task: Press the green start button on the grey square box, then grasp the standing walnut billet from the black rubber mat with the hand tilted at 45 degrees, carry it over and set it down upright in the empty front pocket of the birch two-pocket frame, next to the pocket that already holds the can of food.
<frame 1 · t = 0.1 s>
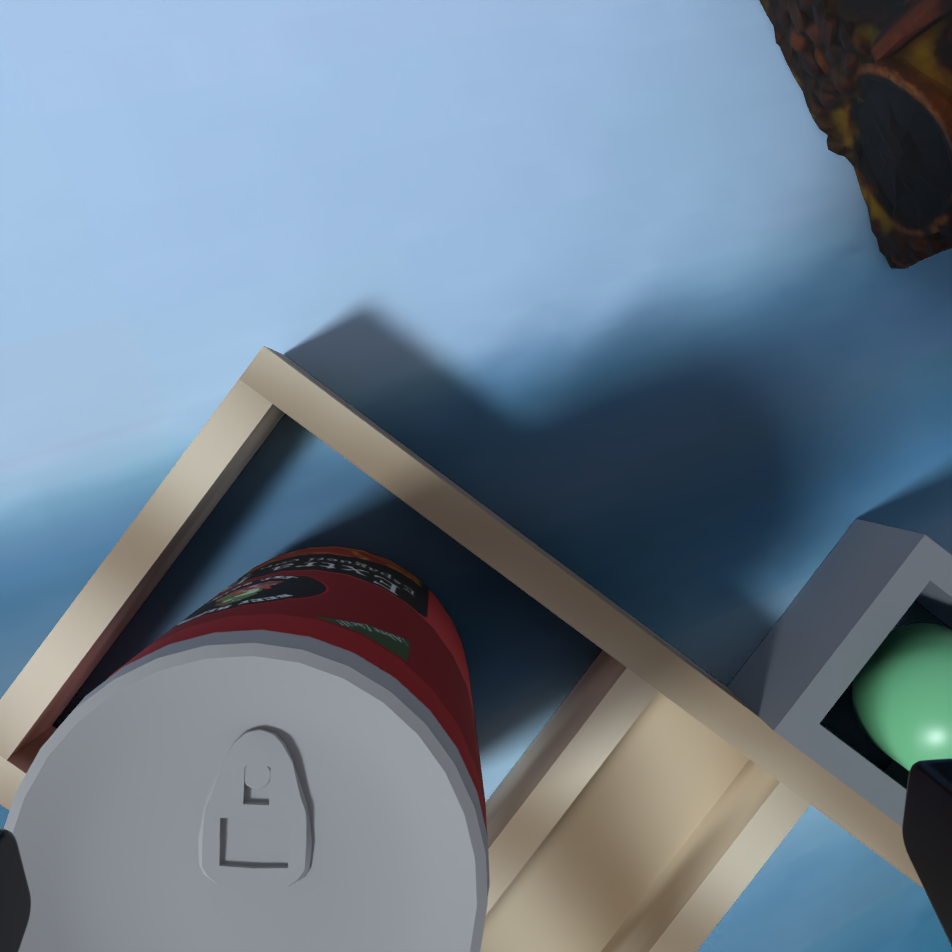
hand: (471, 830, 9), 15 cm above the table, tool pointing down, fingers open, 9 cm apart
birch frame: (573, 857, 25), on the table
canned food: (333, 681, 24), resting in birch frame
grey square box: (872, 665, 25), on the table
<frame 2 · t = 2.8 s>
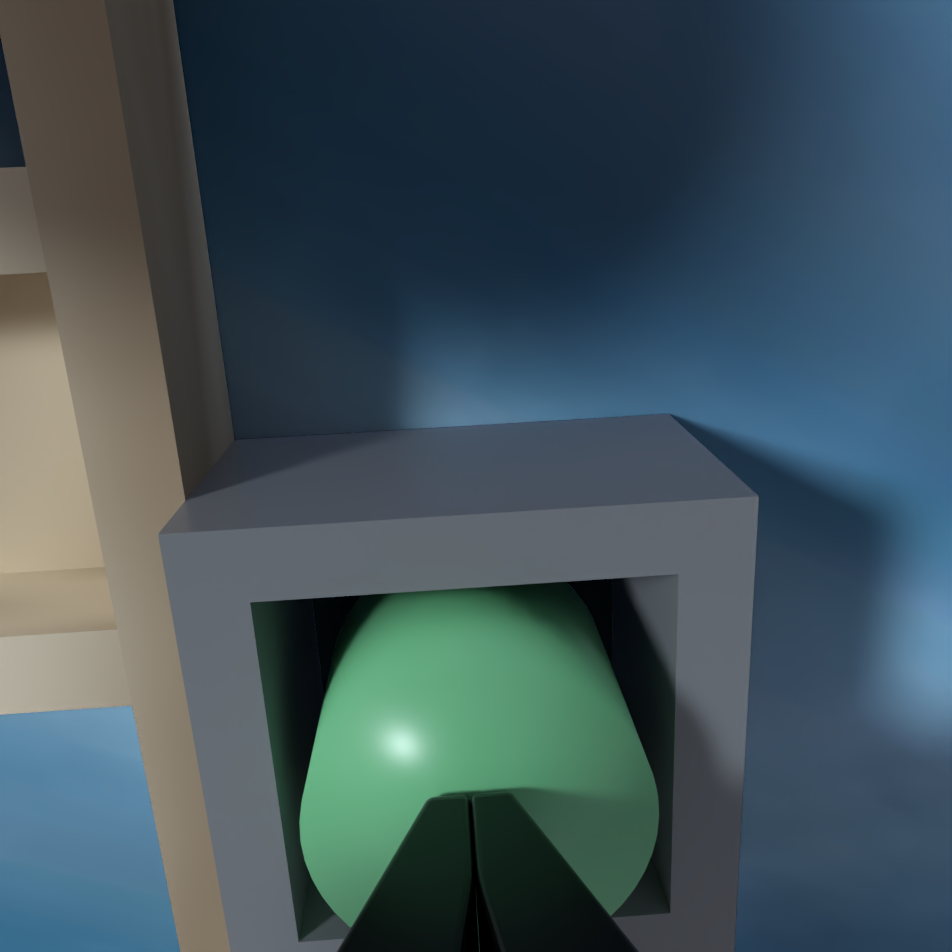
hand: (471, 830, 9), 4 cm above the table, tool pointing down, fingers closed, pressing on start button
start button: (474, 739, 10), point 3 cm above the table, slide at 1.1 cm, touching gripper
grey square box: (464, 622, 13), on the table
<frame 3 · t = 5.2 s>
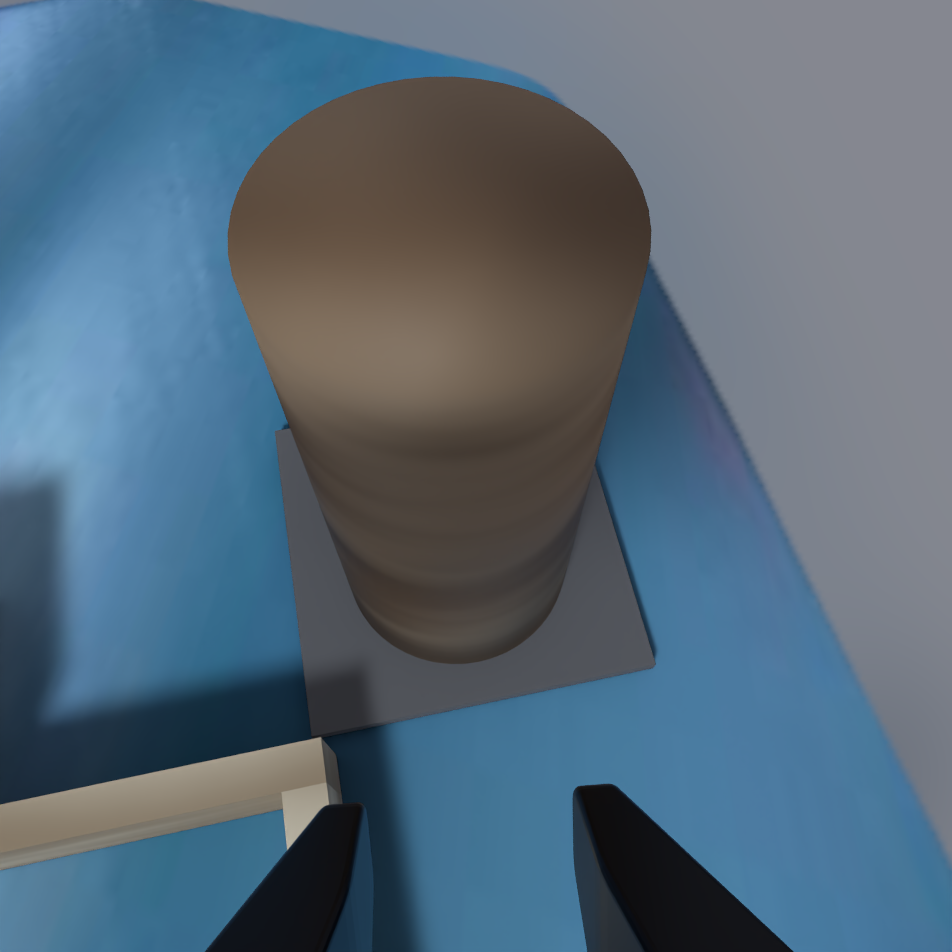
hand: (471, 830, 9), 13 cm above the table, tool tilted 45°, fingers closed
rubber mat: (453, 545, 25), on the table
walnut billet: (456, 556, 24), resting on rubber mat
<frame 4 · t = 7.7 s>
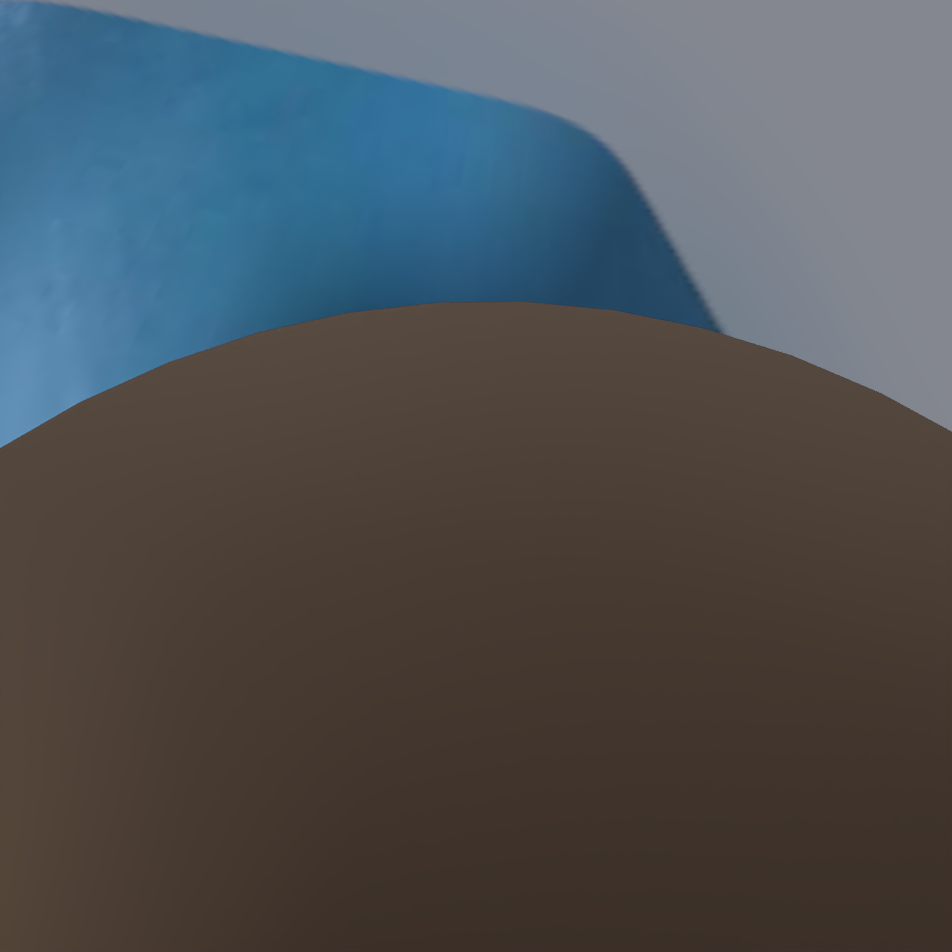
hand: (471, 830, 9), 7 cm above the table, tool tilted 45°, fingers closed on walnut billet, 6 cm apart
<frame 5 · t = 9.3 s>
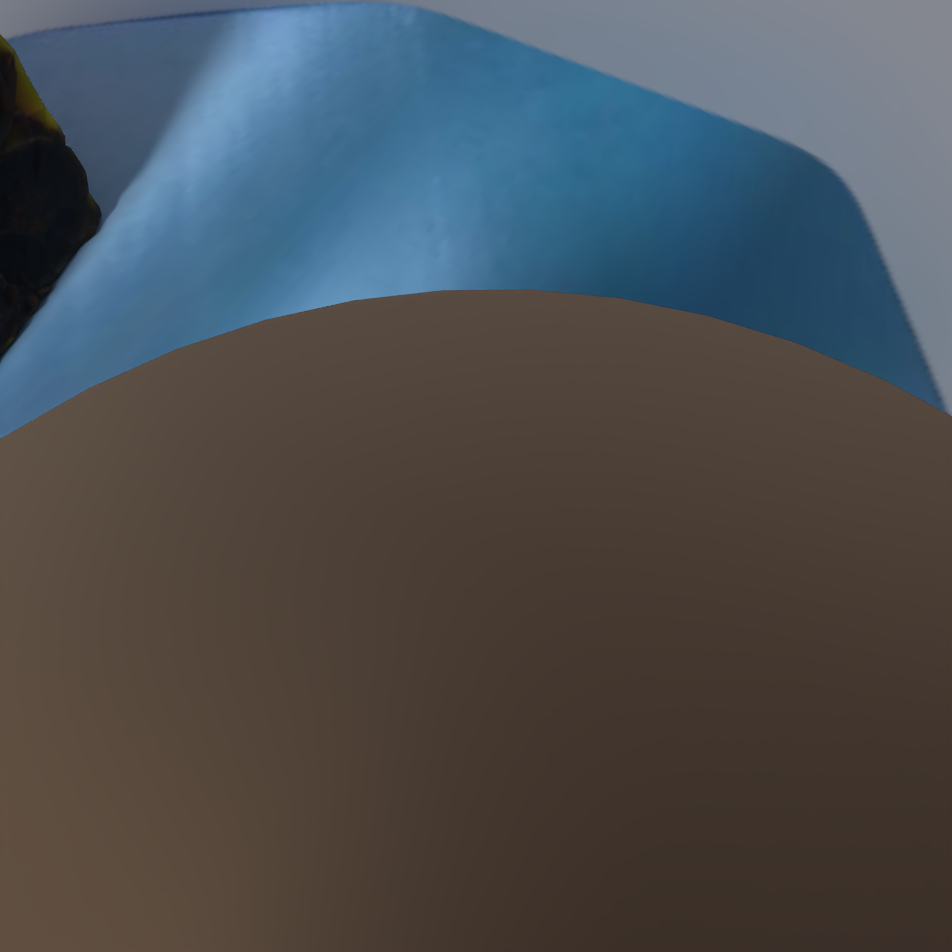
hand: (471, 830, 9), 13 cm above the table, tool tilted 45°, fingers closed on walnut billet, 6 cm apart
when the fingers open (8 cm above the table, at t = 11.2 s): walnut billet drops 2 cm, resting in birch frame.
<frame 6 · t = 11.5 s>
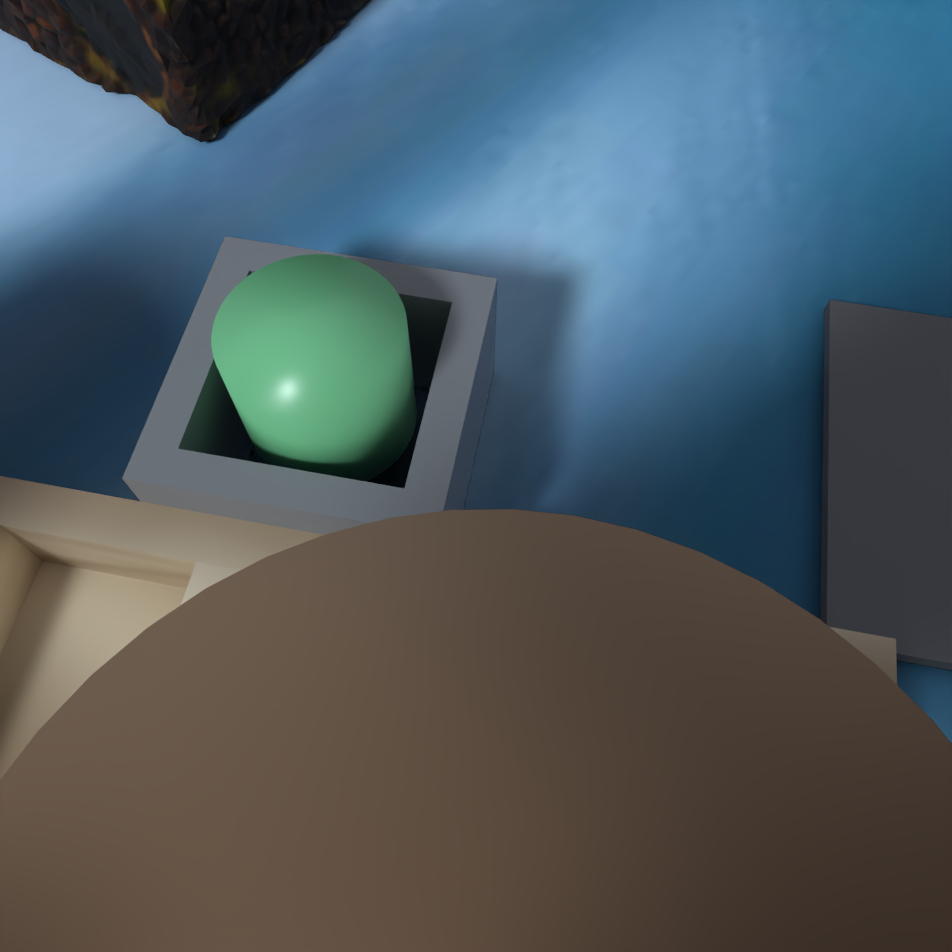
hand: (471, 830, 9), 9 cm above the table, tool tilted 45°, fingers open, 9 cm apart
birch frame: (35, 858, 16), on the table
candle: (201, 4, 28), on the table
start button: (322, 375, 17), point 3 cm above the table, slide at 0.6 cm
grey square box: (344, 455, 20), on the table
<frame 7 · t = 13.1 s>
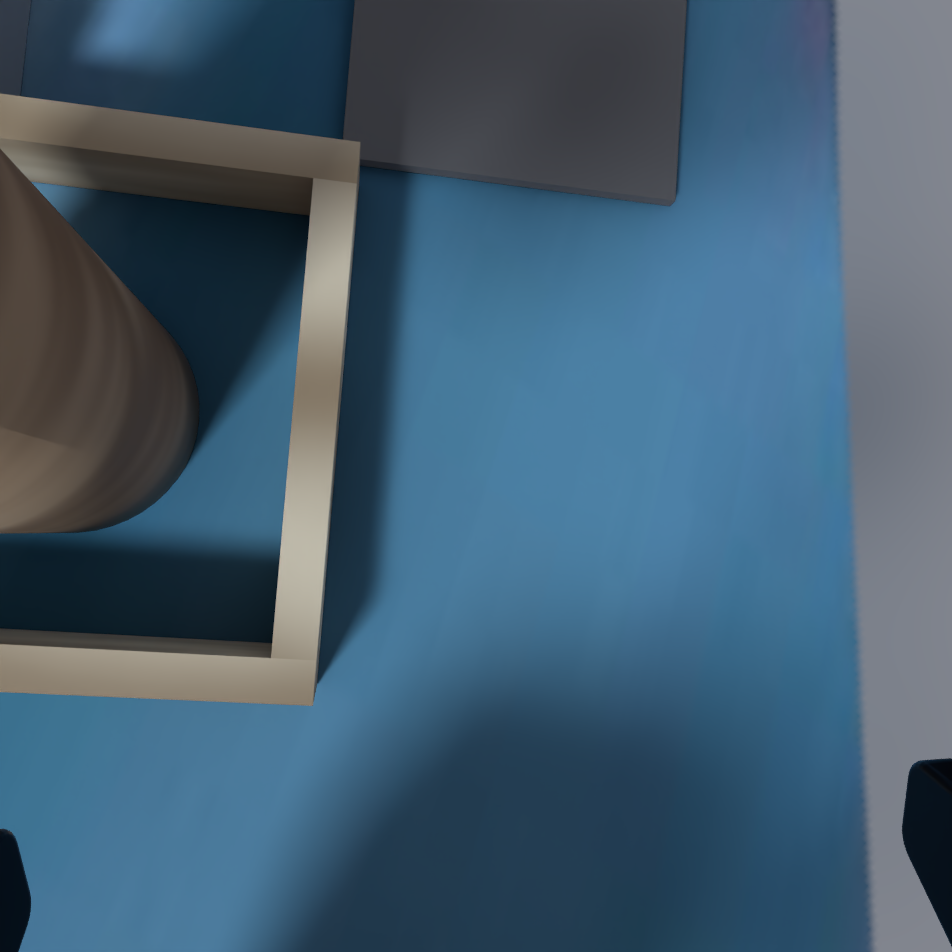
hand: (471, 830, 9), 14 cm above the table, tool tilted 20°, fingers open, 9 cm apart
rubber mat: (521, 24, 24), on the table
walnut billet: (73, 410, 21), resting in birch frame
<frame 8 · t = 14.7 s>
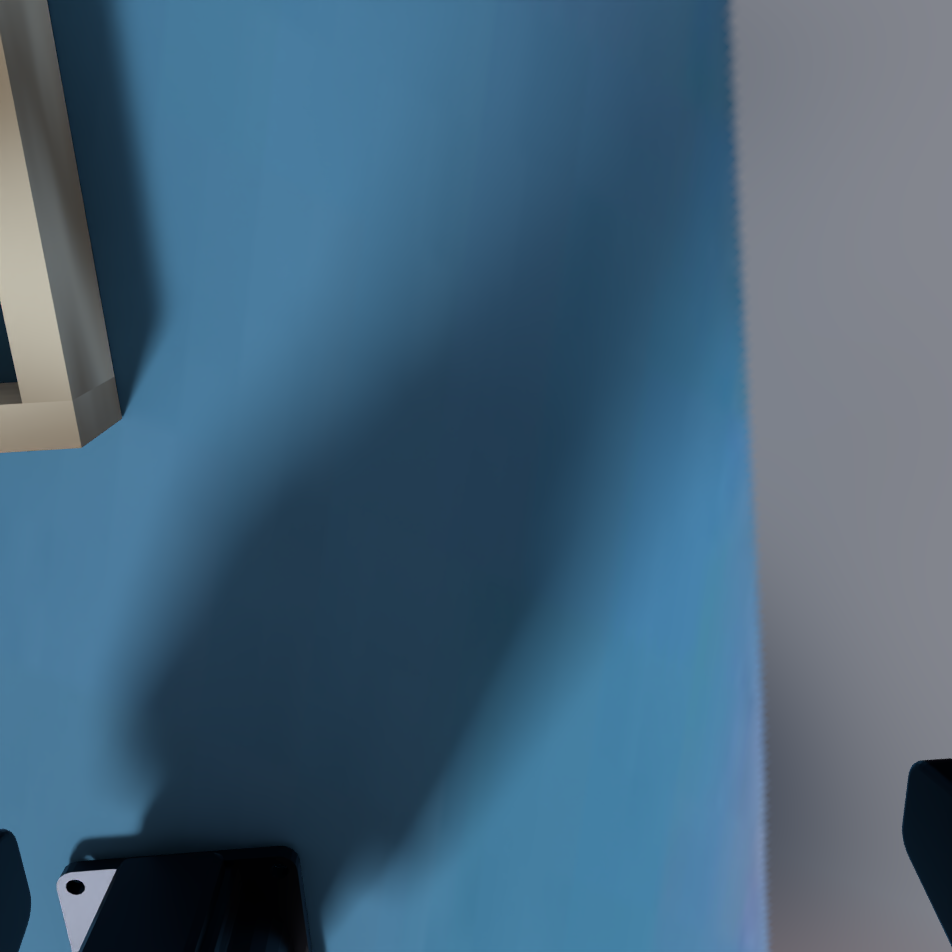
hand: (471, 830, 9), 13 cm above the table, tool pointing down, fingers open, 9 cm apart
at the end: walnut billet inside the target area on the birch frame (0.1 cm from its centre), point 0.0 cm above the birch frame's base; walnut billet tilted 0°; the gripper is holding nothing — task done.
